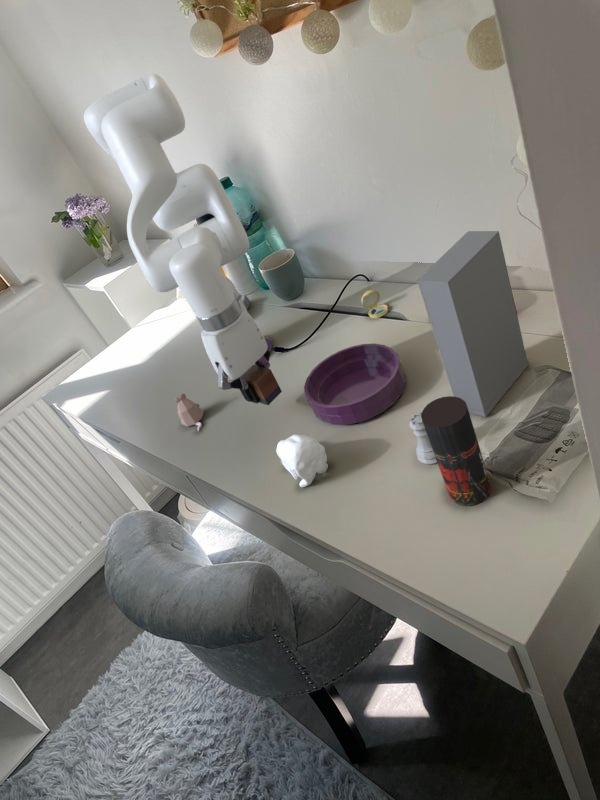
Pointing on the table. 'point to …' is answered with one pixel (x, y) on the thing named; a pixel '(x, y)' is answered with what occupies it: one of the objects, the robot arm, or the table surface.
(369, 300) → the eyeshadow
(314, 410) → the bowl
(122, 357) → the table surface
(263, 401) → the brown rectangular block
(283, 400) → the table surface
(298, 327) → the table surface
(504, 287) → the upright grey slab
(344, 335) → the table surface
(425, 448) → the rook chess piece
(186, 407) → the mouse figurine
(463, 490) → the deodorant
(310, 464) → the white lumpy piece
